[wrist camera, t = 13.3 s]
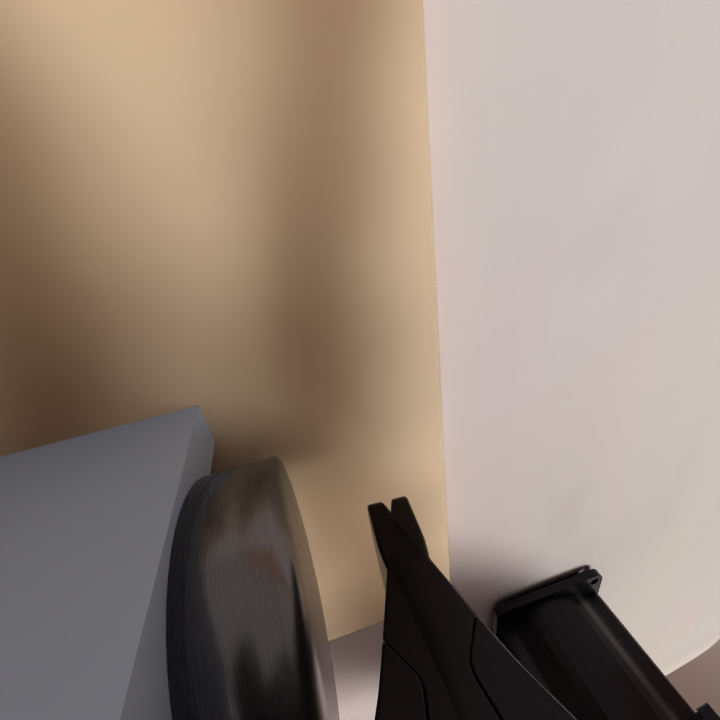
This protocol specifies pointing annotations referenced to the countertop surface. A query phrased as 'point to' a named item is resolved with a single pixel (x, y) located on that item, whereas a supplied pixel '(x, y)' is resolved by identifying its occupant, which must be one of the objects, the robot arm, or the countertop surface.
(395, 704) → the robot arm
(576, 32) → the countertop surface
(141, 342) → the bearing block
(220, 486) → the shaft
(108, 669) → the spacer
